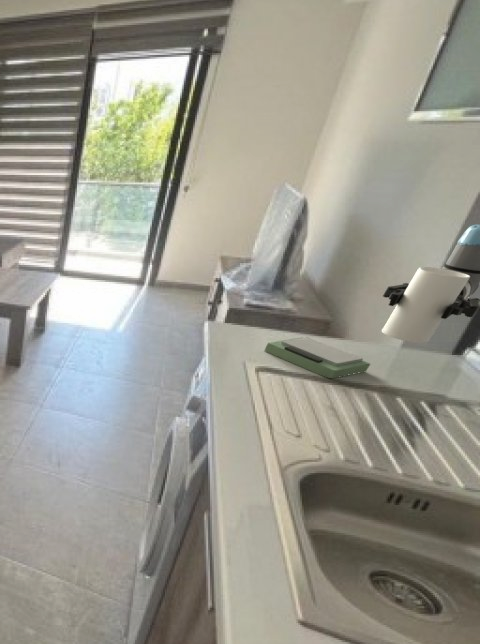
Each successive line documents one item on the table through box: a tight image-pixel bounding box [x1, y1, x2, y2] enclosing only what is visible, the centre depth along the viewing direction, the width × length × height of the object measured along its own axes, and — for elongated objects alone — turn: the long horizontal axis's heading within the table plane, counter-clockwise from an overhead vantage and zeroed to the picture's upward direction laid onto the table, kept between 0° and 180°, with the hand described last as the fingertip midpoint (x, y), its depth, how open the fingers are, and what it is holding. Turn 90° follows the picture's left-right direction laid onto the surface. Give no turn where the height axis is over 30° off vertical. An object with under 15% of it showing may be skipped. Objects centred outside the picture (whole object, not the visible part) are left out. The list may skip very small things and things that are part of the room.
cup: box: [381, 266, 470, 344], centre depth 112 cm, size 8×8×16 cm
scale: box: [263, 336, 371, 379], centre depth 123 cm, size 16×14×3 cm
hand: (419, 306), depth 110 cm, fingers closed on cup, 8 cm apart
